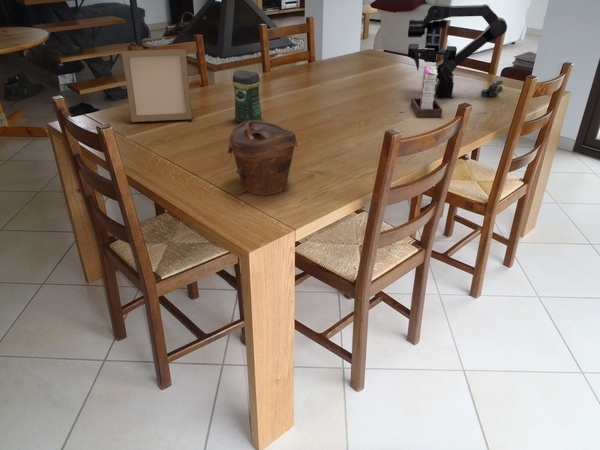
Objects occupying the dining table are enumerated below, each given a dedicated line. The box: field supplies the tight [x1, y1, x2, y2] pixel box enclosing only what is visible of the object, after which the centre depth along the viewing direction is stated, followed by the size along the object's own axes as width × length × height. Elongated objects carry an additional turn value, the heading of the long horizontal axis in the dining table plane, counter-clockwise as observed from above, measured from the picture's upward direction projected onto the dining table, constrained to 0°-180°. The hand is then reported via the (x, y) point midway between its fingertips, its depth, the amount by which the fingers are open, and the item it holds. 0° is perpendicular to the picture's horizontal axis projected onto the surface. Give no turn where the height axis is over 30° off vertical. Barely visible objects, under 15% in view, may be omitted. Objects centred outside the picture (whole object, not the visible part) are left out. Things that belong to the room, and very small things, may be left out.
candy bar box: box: [419, 65, 438, 109], centre depth 194 cm, size 11×5×16 cm, turn 168°
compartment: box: [410, 97, 443, 119], centre depth 197 cm, size 9×14×3 cm, turn 0°
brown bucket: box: [227, 120, 299, 196], centre depth 139 cm, size 18×20×18 cm
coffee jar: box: [232, 69, 262, 124], centre depth 183 cm, size 10×8×19 cm
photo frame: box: [121, 48, 193, 123], centre depth 185 cm, size 15×22×25 cm
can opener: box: [480, 80, 504, 97], centre depth 218 cm, size 18×7×6 cm, turn 143°
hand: (429, 70), depth 199 cm, fingers open, 9 cm apart
